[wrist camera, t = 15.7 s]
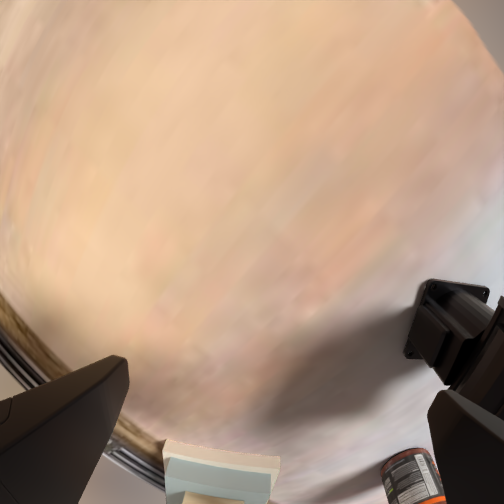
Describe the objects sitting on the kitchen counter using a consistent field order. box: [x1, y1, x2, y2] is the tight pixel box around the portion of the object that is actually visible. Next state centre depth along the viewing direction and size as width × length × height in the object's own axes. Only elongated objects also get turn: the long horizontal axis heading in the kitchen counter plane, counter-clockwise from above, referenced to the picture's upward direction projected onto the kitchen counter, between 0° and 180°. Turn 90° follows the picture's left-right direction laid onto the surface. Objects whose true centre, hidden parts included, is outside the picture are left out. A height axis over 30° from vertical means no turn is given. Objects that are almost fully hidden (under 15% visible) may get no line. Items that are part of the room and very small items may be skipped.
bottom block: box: [162, 439, 280, 504], centre depth 26 cm, size 11×11×2 cm
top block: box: [165, 457, 271, 504], centre depth 24 cm, size 10×10×2 cm
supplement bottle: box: [381, 448, 446, 504], centre depth 20 cm, size 6×6×11 cm
